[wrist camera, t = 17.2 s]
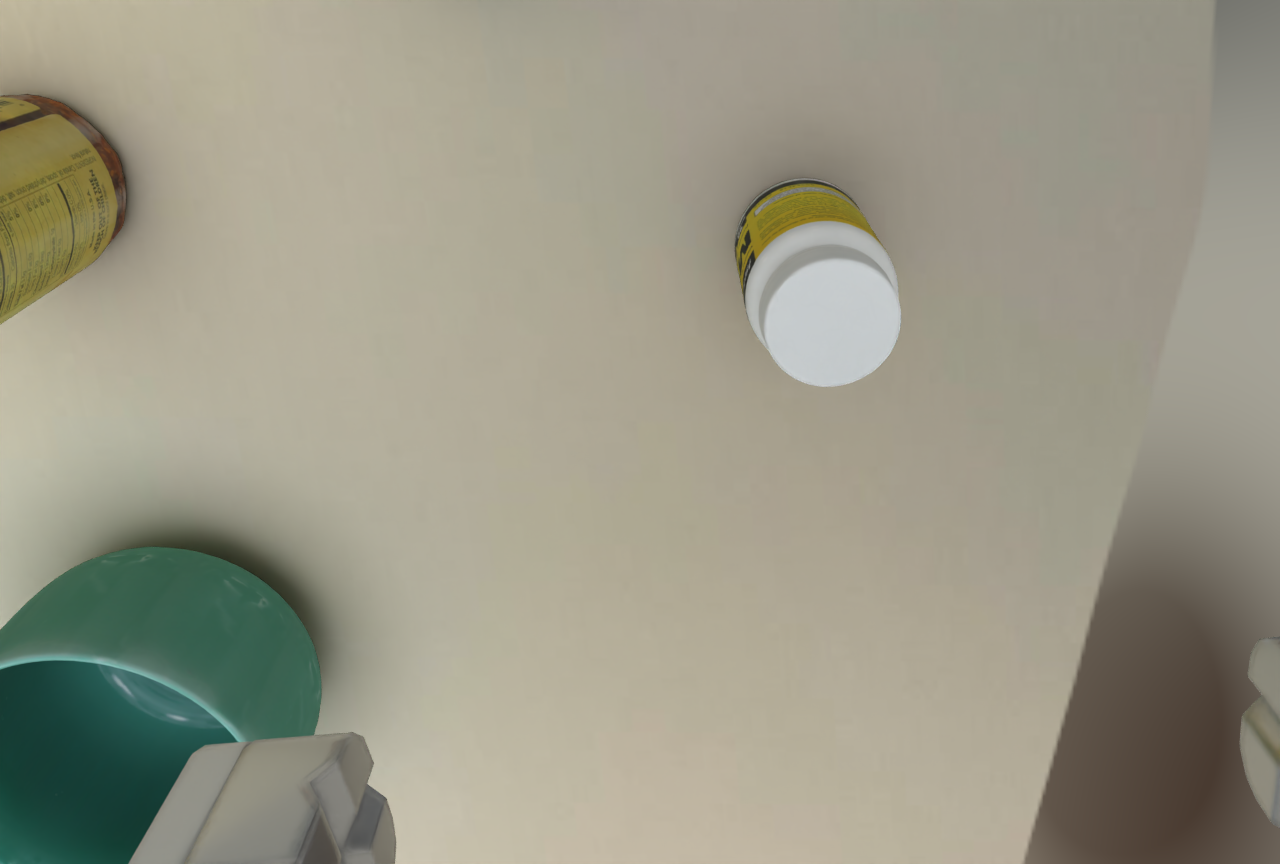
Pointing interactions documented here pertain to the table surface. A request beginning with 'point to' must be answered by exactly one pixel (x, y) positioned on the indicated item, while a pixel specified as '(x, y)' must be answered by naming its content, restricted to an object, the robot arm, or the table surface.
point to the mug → (137, 694)
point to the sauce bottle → (52, 198)
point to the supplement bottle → (817, 283)
